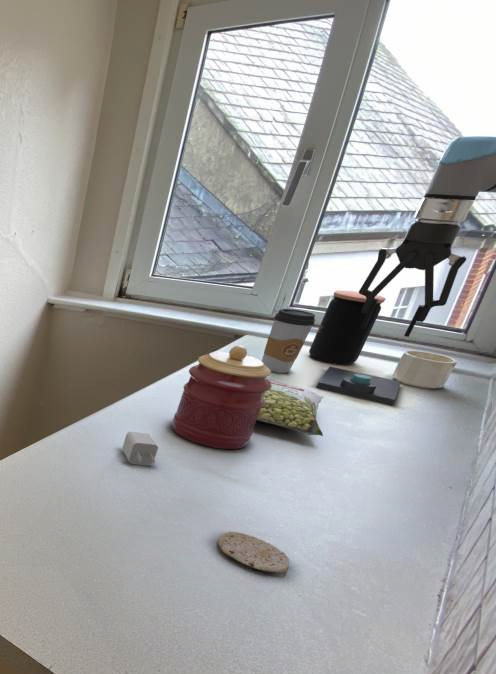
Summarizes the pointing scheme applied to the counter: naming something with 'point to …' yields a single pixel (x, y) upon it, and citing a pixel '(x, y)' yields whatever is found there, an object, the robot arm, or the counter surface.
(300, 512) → the counter surface
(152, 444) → the usb wall charger
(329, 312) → the coffee jar
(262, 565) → the flatbread
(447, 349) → the counter surface
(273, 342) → the coffee cup
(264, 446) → the counter surface
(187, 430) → the kitchen canister
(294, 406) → the frozen beans
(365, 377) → the button
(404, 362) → the bowl
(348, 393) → the scale
